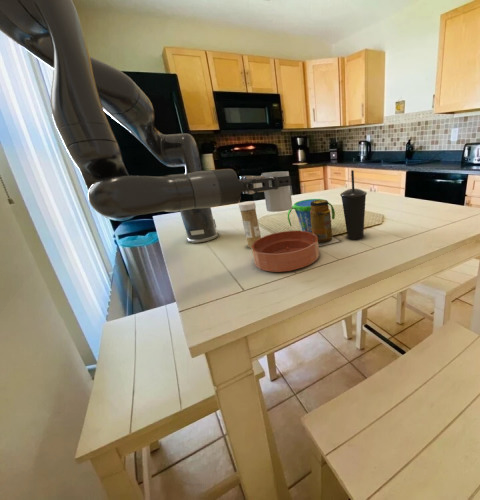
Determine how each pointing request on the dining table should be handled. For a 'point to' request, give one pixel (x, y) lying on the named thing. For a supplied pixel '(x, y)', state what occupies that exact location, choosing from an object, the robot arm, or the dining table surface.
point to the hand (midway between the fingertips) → (283, 180)
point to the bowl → (285, 250)
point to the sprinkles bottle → (250, 221)
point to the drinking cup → (354, 211)
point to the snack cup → (305, 213)
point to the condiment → (321, 222)
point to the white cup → (278, 194)
